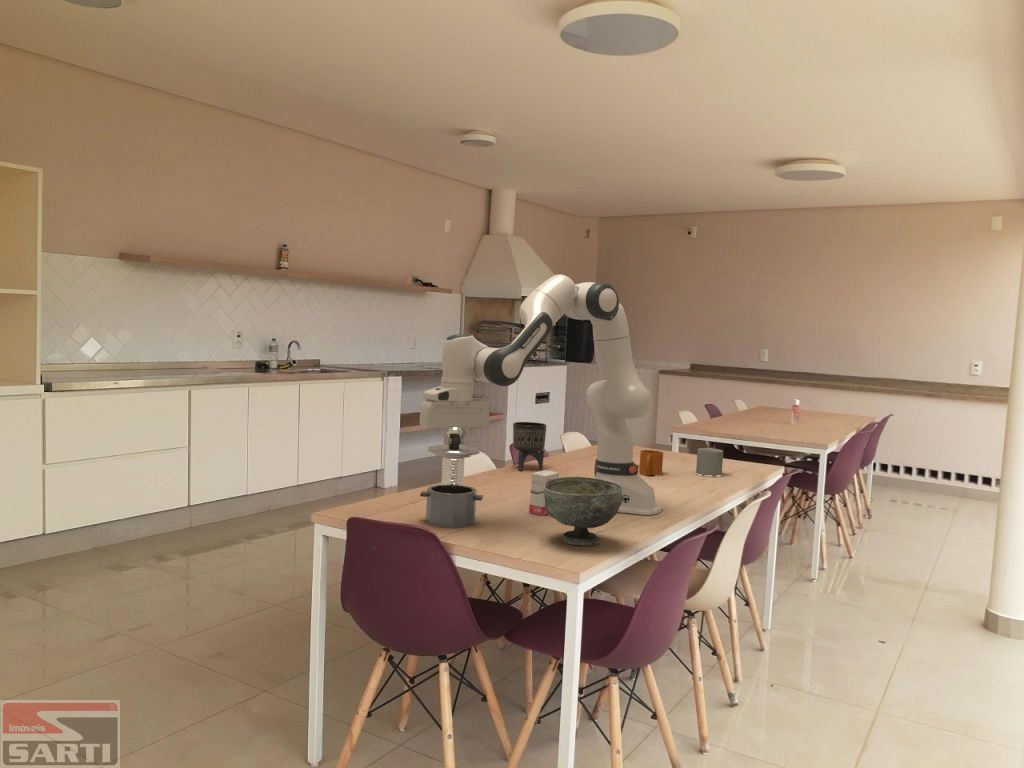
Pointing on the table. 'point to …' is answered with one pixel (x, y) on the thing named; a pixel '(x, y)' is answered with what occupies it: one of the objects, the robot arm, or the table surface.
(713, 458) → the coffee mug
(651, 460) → the mug
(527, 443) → the planter
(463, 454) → the lid
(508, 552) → the table surface
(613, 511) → the bowl
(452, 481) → the water bottle
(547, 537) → the table surface
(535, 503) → the ink box
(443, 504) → the pot
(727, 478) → the table surface
